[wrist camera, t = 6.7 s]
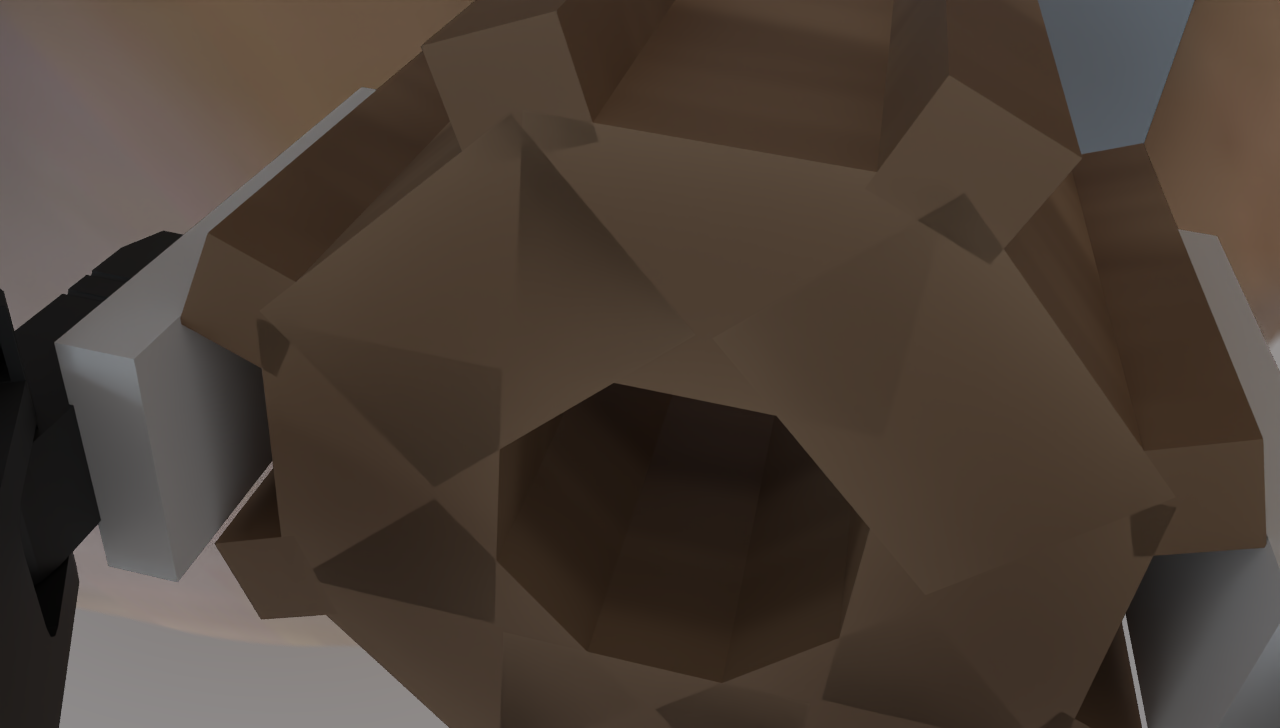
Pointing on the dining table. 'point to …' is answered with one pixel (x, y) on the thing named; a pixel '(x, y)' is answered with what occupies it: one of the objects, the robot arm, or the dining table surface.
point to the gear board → (1113, 63)
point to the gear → (729, 373)
